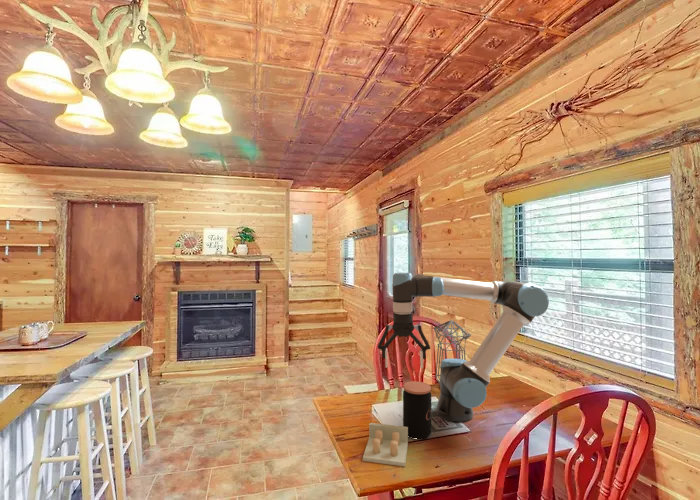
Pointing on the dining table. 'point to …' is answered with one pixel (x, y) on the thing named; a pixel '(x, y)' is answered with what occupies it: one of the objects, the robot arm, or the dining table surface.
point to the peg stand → (387, 444)
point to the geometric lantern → (450, 340)
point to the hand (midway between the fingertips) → (404, 366)
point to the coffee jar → (417, 409)
